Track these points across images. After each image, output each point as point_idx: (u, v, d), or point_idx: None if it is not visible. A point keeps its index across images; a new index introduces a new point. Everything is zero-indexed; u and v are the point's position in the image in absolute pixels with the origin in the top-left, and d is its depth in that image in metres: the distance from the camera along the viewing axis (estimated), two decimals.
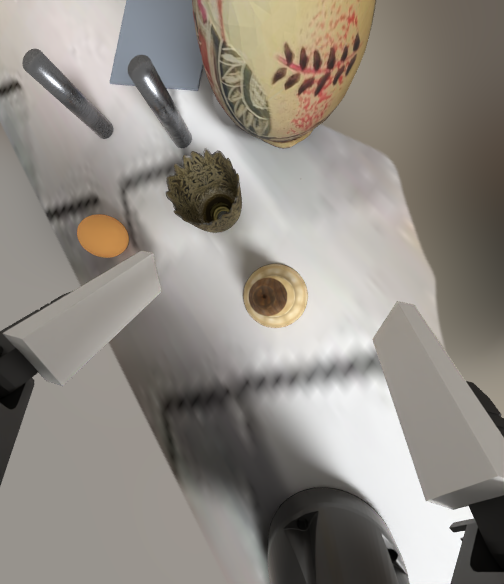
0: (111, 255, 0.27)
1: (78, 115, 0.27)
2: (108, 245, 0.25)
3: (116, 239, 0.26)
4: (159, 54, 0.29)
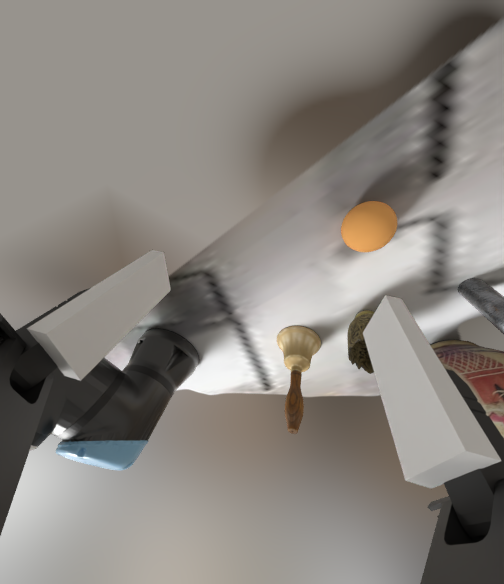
0: (342, 237, 0.24)
1: None
2: (352, 247, 0.23)
3: None
4: None
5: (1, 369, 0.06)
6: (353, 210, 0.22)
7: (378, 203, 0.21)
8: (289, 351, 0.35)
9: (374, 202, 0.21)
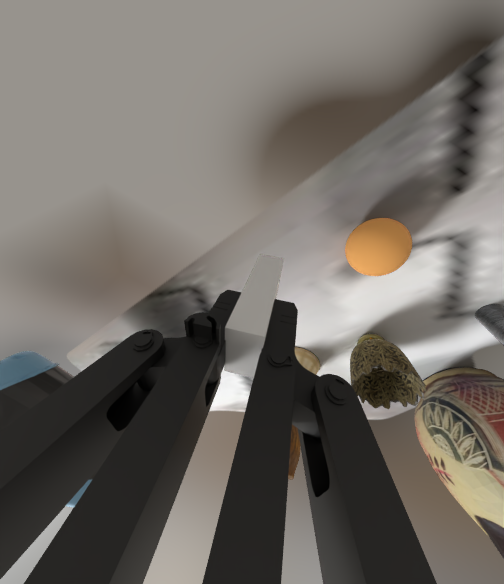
0: (346, 257, 0.21)
1: None
2: (358, 270, 0.20)
3: (365, 274, 0.21)
4: None
5: (206, 374, 0.06)
6: (360, 228, 0.19)
7: (390, 221, 0.18)
8: None
9: (385, 220, 0.18)
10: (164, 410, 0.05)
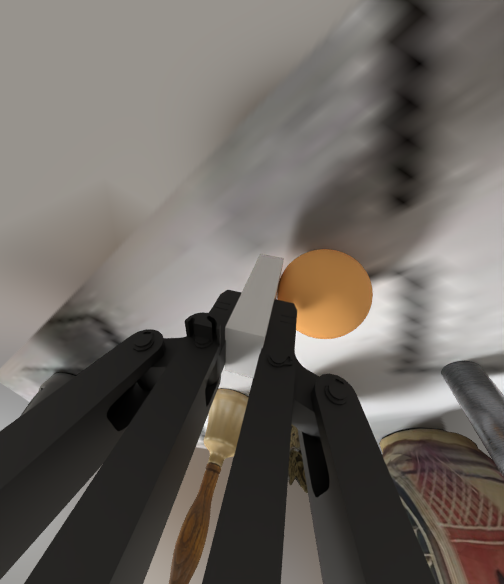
0: None
1: None
2: (309, 336, 0.13)
3: None
4: None
5: (206, 374, 0.06)
6: (301, 277, 0.11)
7: (342, 259, 0.11)
8: (210, 429, 0.25)
9: (334, 257, 0.11)
10: (164, 410, 0.05)
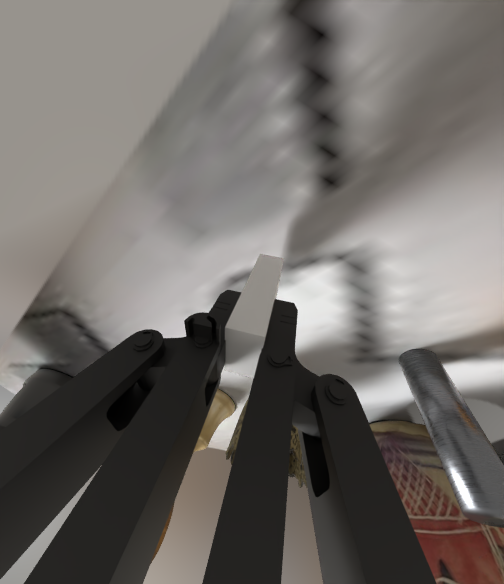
0: None
1: None
2: None
3: None
4: None
5: (206, 374, 0.06)
6: None
7: None
8: None
9: None
10: (164, 410, 0.05)
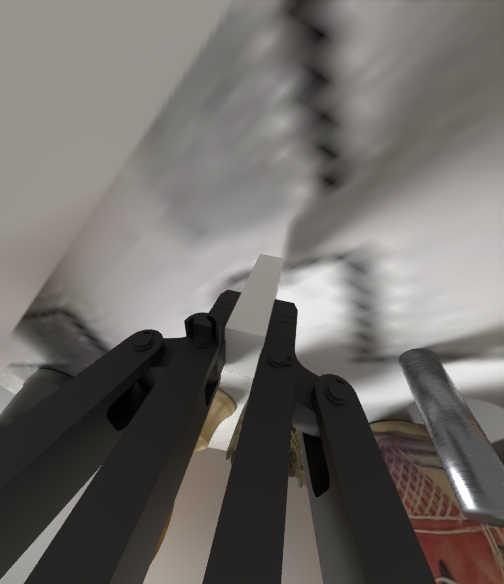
0: None
1: None
2: None
3: None
4: None
5: (206, 374, 0.06)
6: None
7: None
8: None
9: None
10: (164, 410, 0.05)
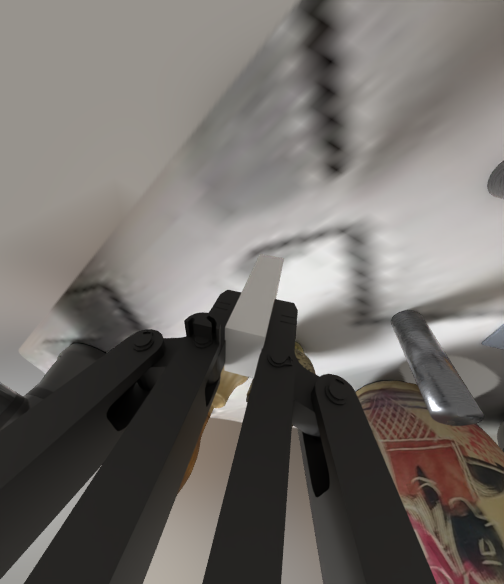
0: None
1: None
2: None
3: None
4: None
5: (206, 374, 0.06)
6: None
7: None
8: None
9: None
10: (164, 410, 0.05)
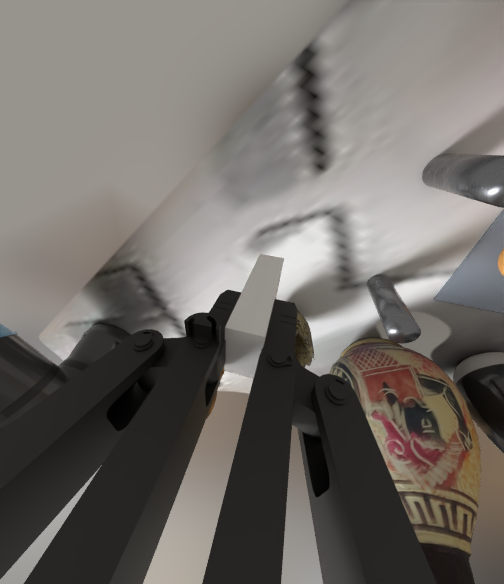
0: None
1: (446, 174, 0.16)
2: None
3: None
4: None
5: (206, 374, 0.06)
6: None
7: None
8: None
9: None
10: (164, 410, 0.05)
